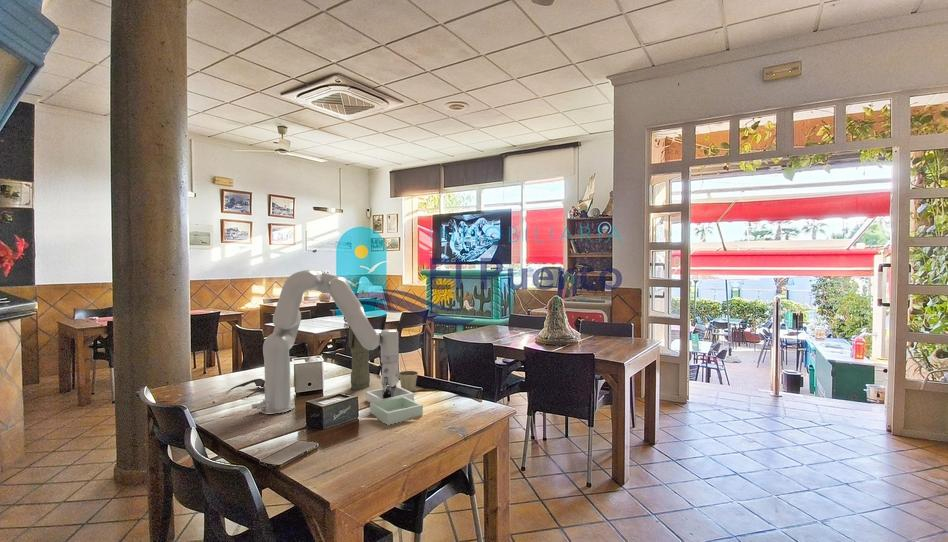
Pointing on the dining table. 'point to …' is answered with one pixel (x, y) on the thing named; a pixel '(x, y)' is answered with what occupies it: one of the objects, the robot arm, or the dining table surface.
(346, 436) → the dining table surface
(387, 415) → the bin
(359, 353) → the olive green tall block
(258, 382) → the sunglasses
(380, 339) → the robot arm
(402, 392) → the bin
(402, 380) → the flower pot
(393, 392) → the gray cube
